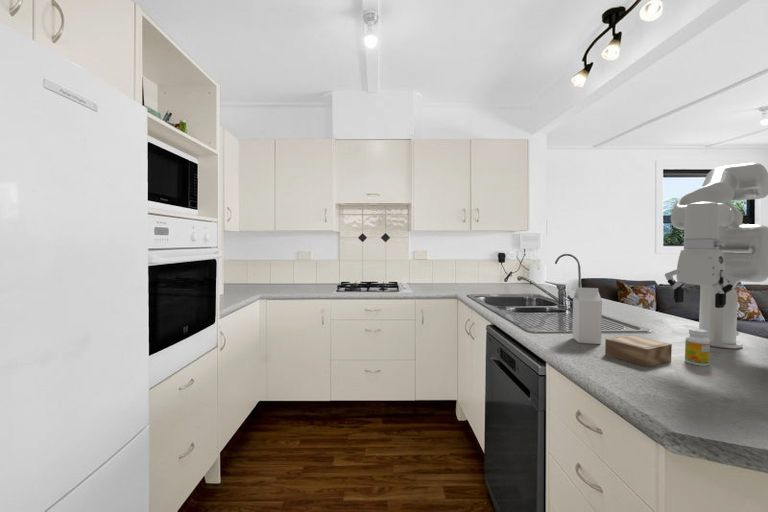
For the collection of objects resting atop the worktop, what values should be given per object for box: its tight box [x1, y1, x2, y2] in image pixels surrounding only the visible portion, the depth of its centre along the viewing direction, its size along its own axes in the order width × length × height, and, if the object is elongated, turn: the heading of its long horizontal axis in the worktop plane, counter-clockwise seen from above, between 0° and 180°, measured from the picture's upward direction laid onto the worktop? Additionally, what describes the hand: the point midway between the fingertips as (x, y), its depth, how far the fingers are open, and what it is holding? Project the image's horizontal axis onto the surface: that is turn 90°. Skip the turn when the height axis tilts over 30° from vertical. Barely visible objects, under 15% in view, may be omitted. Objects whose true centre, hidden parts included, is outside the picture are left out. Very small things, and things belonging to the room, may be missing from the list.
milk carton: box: [571, 287, 603, 345], centre depth 128 cm, size 7×7×19 cm
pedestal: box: [604, 334, 673, 368], centre depth 110 cm, size 12×12×5 cm
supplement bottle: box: [684, 328, 711, 367], centre depth 105 cm, size 5×5×10 cm
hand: (698, 304), depth 104 cm, fingers open, 9 cm apart
